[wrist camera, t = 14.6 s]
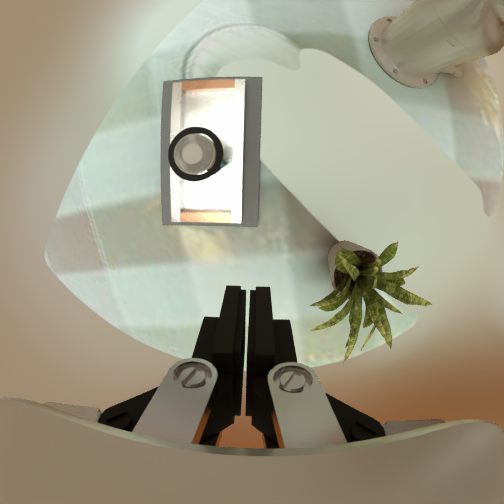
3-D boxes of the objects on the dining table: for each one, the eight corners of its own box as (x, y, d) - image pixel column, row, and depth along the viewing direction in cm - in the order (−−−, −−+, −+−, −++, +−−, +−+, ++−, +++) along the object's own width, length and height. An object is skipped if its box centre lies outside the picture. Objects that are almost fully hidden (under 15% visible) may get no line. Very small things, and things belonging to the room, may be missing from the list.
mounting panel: (262, 79, 30) (262, 77, 29) (257, 224, 37) (257, 227, 36) (166, 83, 30) (163, 81, 29) (165, 222, 37) (162, 225, 36)
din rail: (245, 83, 30) (245, 79, 27) (242, 219, 36) (241, 223, 34) (177, 86, 30) (172, 82, 28) (176, 217, 36) (171, 221, 34)
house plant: (267, 260, 39) (273, 328, 23) (333, 186, 35) (386, 210, 20) (334, 312, 42) (365, 385, 26) (394, 250, 38) (455, 301, 23)
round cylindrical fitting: (175, 144, 32) (146, 141, 23) (208, 118, 31) (189, 103, 21) (206, 183, 34) (187, 194, 24) (240, 157, 33) (233, 158, 23)
